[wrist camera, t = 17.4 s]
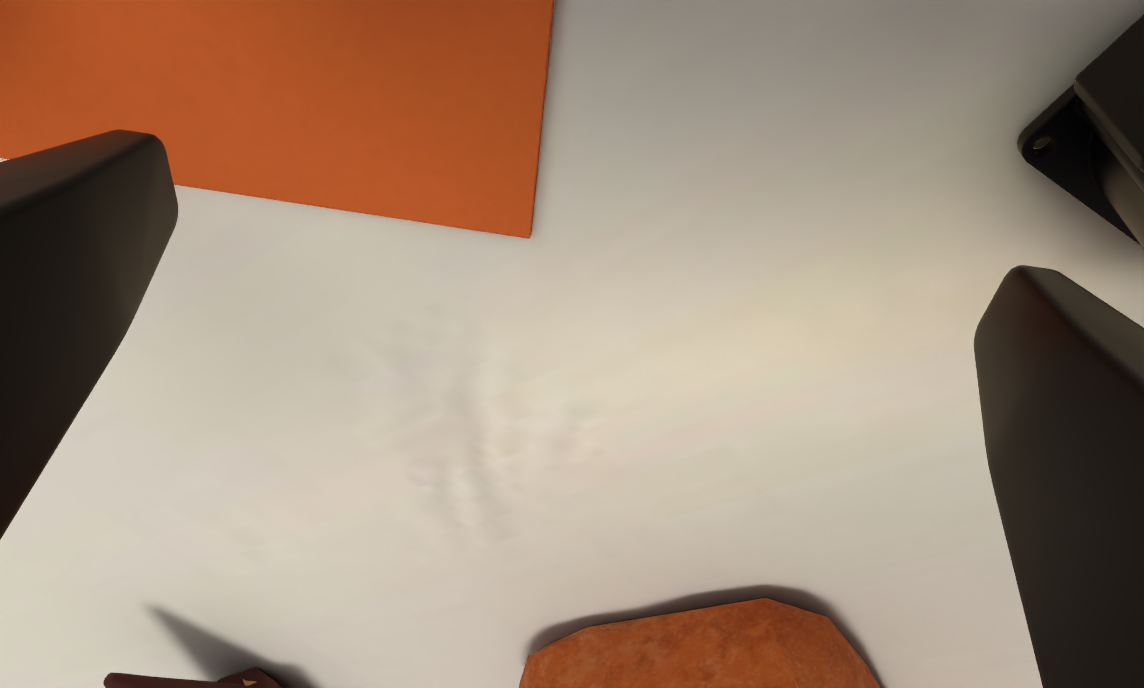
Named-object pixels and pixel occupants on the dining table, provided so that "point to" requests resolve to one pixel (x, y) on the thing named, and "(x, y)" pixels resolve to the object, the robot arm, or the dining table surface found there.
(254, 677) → the icecream
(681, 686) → the bread
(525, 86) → the cloth
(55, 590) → the dining table surface
